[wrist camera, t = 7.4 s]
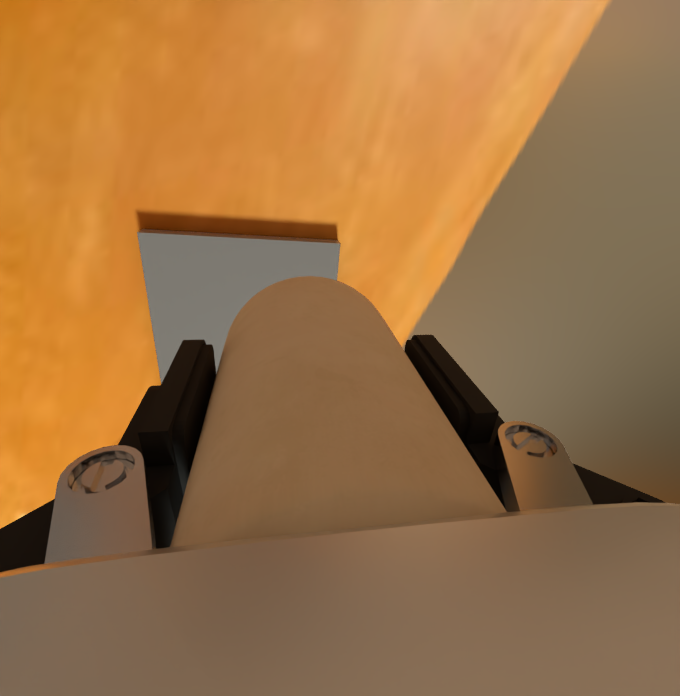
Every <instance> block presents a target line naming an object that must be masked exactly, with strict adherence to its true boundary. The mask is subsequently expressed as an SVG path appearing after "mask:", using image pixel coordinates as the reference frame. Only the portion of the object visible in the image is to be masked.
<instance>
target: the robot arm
mask: <svg viewBox="0 0 680 696" xmlns="http://www.w3.org/2000/svg"><path fill="white" fill-rule="evenodd" d="M404 352H405V353H406V355H407V356H408V358H409V359H410V361H411V363H412V364H413V366H414V367H415V369H416V370H417V372H418V374H419V375H420V377H421V378H422V380H423V381H424V383H425V385H426V386H427V388H428V389H429V391H430V392H431V394H432V395H433V397H434V399H435V400H436V402H437V403H438V405H439V406H440V408H441V410H442V411H443V413H444V414H445V416H446V417H447V419H448V420H449V422H450V424H451V425H452V427H453V428H454V430H455V431H456V433H457V435H458V436H459V438H460V439H461V441H462V442H463V444H464V445H465V447H466V449H467V450H468V452H469V453H470V455H471V456H472V458H473V460H474V461H475V463H476V464H477V466H478V467H479V469H480V471H481V472H482V474H483V475H484V477H485V478H486V480H487V481H488V483H489V485H490V486H491V488H492V489H493V491H494V492H495V494H496V496H497V497H498V499H499V500H500V502H501V503H502V505H503V507H504V508H505V510H506V511H507V512H505V513H494V514H484V515H474V516H463V517H453V518H443V519H435V520H426V521H417V522H409V523H400V524H391V525H381V526H372V527H362V528H352V529H341V530H330V531H320V532H309V533H297V534H287V535H278V536H269V537H259V538H250V539H241V540H232V541H222V542H213V543H204V544H195V545H186V546H176V547H170V545H171V541H172V537H173V534H174V530H175V526H176V523H177V519H178V515H179V511H180V508H181V504H182V500H183V496H184V493H185V489H186V485H187V482H188V478H189V474H190V470H191V467H192V463H193V459H194V456H195V452H196V448H197V444H198V441H199V437H200V433H201V430H202V426H203V422H204V418H205V415H206V411H207V407H208V404H209V400H210V396H211V392H212V389H213V385H214V381H215V378H216V366H215V358H214V349H213V345H212V344H206V342H205V340H183V341H182V343H181V345H180V347H179V349H178V351H177V353H176V355H175V357H174V359H173V361H172V363H171V365H170V367H169V370H168V372H167V374H166V376H165V378H164V380H163V382H162V384H161V386H151V387H149V389H148V390H147V392H146V394H145V396H144V398H143V399H142V401H141V403H140V405H139V407H138V409H137V411H136V412H135V414H134V416H133V418H132V420H131V422H130V424H129V426H128V427H127V429H126V431H125V433H124V435H123V437H122V439H121V440H120V442H119V444H118V445H114V446H108V447H102V448H99V449H96V450H93V451H90V452H89V453H87V454H85V455H83V456H81V457H79V458H77V459H76V460H75V461H74V462H72V463H71V464H70V465H68V466H67V468H66V469H65V470H64V471H63V472H62V474H61V475H60V478H59V480H58V483H57V489H56V495H55V499H54V500H52V501H50V502H48V503H46V504H45V505H43V506H41V507H39V508H37V509H36V510H34V511H32V512H30V513H28V514H27V515H25V516H23V517H21V518H19V519H18V520H16V521H14V522H12V523H10V524H9V525H7V526H5V527H3V528H1V529H0V696H680V504H671V503H665V502H663V501H662V500H659V499H657V498H654V497H652V496H650V495H648V494H645V493H643V492H640V491H638V490H635V489H633V488H631V487H628V486H626V485H623V484H621V483H619V482H616V481H614V480H611V479H609V478H607V477H604V476H601V475H599V474H597V473H594V472H592V471H590V470H587V469H585V468H582V467H580V466H578V465H575V464H573V463H572V462H571V460H570V457H569V456H568V454H567V452H566V450H565V448H564V446H563V444H562V443H561V441H560V440H559V439H558V438H557V437H556V436H555V435H553V434H552V433H551V432H549V431H547V430H546V429H544V428H542V427H540V426H537V425H535V424H532V423H528V422H523V421H510V422H506V423H504V422H503V420H502V419H501V418H500V417H499V416H498V411H497V410H496V408H495V407H494V406H493V405H492V404H491V403H490V401H489V400H488V399H487V398H486V397H485V396H484V394H483V393H482V392H481V391H480V390H479V389H478V387H477V386H476V385H475V384H474V383H473V382H472V381H471V379H470V378H469V377H468V376H467V375H466V373H465V372H464V371H463V370H462V369H461V368H460V366H459V365H458V364H457V363H456V362H455V361H454V359H453V358H452V357H451V356H450V355H449V354H448V352H447V351H446V350H445V349H444V348H443V347H442V345H441V344H440V343H439V342H438V341H437V340H436V338H435V337H434V336H433V335H414V336H413V337H412V339H411V340H407V341H406V345H405V351H404Z"/></svg>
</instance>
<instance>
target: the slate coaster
mask: <svg viewBox="0 0 680 696" xmlns="http://www.w3.org/2000/svg"><path fill="white" fill-rule="evenodd" d="M137 234H138V240H139V246H140V253H141V259H142V265H143V272H144V278H145V284H146V290H147V297H148V303H149V309H150V316H151V322H152V328H153V334H154V341H155V347H156V353H157V360H158V366H159V372H160V378H161V384H162V382H163V380H164V378H165V376H166V374H167V372H168V370H169V367H170V365H171V363H172V361H173V359H174V357H175V355H176V353H177V351H178V349H179V347H180V345H181V343H182V341H183V340H205V342H206V344H212V345H213V349H214V358H215V366H216V374H217V370H218V366H219V363H220V359H221V355H222V352H223V348H224V345H225V342H226V338H227V335H228V332H229V329H230V327H231V325H232V323H233V321H234V319H235V317H236V316H237V314H238V313H239V311H240V310H241V309H242V307H243V306H244V305H245V304H246V303H247V302H248V301H249V300H250V299H251V298H252V297H253V296H255V295H256V294H257V293H258V292H260V291H261V290H263V289H265V288H266V287H268V286H270V285H272V284H274V283H277V282H279V281H283V280H286V279H289V278H295V277H304V276H315V277H324V278H329V279H333V280H336V281H337V273H338V262H339V251H340V243H339V241H338V240H329V239H312V238H294V237H277V236H259V235H242V234H224V233H207V232H189V231H172V230H154V229H142V230H140V231H139V232H137Z"/></svg>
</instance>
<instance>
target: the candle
mask: <svg viewBox="0 0 680 696" xmlns="http://www.w3.org/2000/svg"><path fill="white" fill-rule="evenodd" d="M505 512H507V511H506V510H505V508H504V507H503V505H502V503H501V502H500V500H499V499H498V497H497V496H496V494H495V492H494V491H493V489H492V488H491V486H490V485H489V483H488V481H487V480H486V478H485V477H484V475H483V474H482V472H481V471H480V469H479V467H478V466H477V464H476V463H475V461H474V460H473V458H472V456H471V455H470V453H469V452H468V450H467V449H466V447H465V445H464V444H463V442H462V441H461V439H460V438H459V436H458V435H457V433H456V431H455V430H454V428H453V427H452V425H451V424H450V422H449V420H448V419H447V417H446V416H445V414H444V413H443V411H442V410H441V408H440V406H439V405H438V403H437V402H436V400H435V399H434V397H433V395H432V394H431V392H430V391H429V389H428V388H427V386H426V385H425V383H424V381H423V380H422V378H421V377H420V375H419V374H418V372H417V370H416V369H415V367H414V366H413V364H412V363H411V361H410V359H409V358H408V356H407V355H406V353H405V352H404V350H403V349H402V347H401V345H400V344H399V342H398V341H397V339H396V338H395V336H394V334H393V333H392V331H391V330H390V328H389V327H388V325H387V324H386V322H385V320H384V319H383V318H382V316H381V315H380V313H379V312H378V311H377V309H376V308H375V307H374V305H373V304H372V303H371V302H370V301H369V300H368V299H367V298H366V297H365V296H363V295H362V294H361V293H359V292H358V291H356V290H355V289H353V288H352V287H350V286H348V285H346V284H344V283H342V282H339V281H336V280H333V279H329V278H324V277H315V276H304V277H295V278H289V279H286V280H283V281H279V282H277V283H274V284H272V285H270V286H268V287H266V288H265V289H263V290H261V291H260V292H258V293H257V294H256V295H255V296H253V297H252V298H251V299H250V300H249V301H248V302H247V303H246V304H245V305H244V306H243V307H242V309H241V310H240V311H239V313H238V314H237V316H236V317H235V319H234V321H233V323H232V325H231V327H230V329H229V332H228V335H227V338H226V342H225V345H224V348H223V352H222V355H221V359H220V363H219V366H218V370H217V374H216V378H215V381H214V385H213V389H212V392H211V396H210V400H209V404H208V407H207V411H206V415H205V418H204V422H203V426H202V430H201V433H200V437H199V441H198V444H197V448H196V452H195V456H194V459H193V463H192V467H191V470H190V474H189V478H188V482H187V485H186V489H185V493H184V496H183V500H182V504H181V508H180V511H179V515H178V519H177V523H176V526H175V530H174V534H173V537H172V541H171V545H170V547H176V546H186V545H195V544H204V543H213V542H222V541H232V540H241V539H250V538H259V537H269V536H278V535H287V534H297V533H309V532H320V531H330V530H341V529H352V528H362V527H372V526H381V525H391V524H400V523H409V522H417V521H426V520H435V519H443V518H453V517H463V516H474V515H484V514H494V513H505Z"/></svg>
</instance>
